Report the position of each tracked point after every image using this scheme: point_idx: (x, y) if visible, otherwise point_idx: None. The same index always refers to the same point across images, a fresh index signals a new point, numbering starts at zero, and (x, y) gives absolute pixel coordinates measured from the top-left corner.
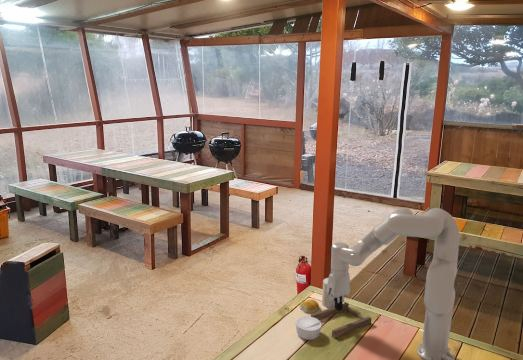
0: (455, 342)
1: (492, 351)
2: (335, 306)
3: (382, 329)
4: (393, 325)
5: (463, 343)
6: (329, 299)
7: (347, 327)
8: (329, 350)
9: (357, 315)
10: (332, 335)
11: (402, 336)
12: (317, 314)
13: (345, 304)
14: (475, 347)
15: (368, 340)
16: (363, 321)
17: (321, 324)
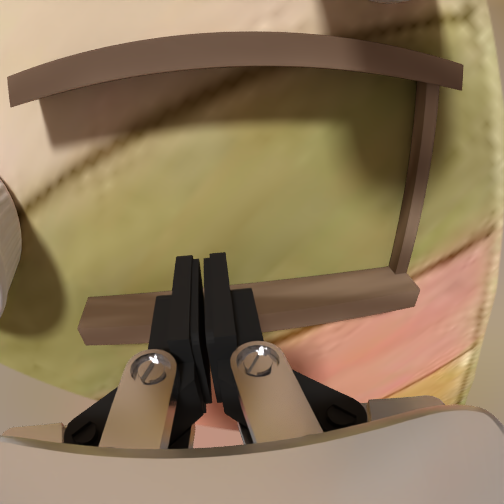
0: (449, 404)
1: None
2: (157, 315)
3: (389, 331)
4: (445, 319)
5: None
6: (12, 434)
7: None
8: (42, 362)
9: (410, 193)
10: (87, 306)
11: (395, 377)
12: (59, 90)
13: (439, 77)
14: None
15: None
16: (350, 316)
17: (2, 307)
